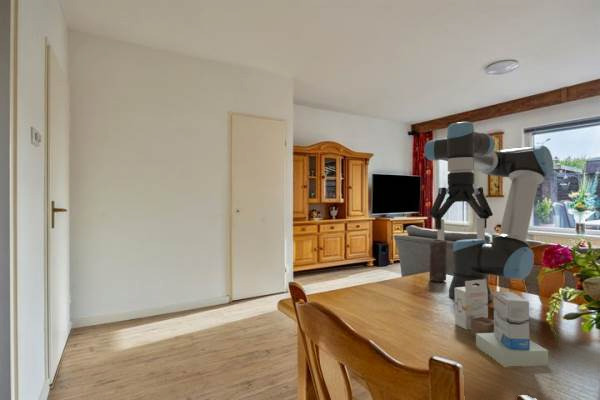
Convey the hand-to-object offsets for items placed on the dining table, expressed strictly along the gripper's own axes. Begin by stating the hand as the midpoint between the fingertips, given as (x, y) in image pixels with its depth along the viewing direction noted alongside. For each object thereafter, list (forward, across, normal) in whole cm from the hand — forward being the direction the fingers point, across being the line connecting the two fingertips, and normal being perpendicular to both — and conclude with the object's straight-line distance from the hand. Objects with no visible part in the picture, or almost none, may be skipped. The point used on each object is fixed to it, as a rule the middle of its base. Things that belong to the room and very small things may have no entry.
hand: (460, 239), depth 105 cm
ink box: (+23, +1, +22) cm, 32 cm away
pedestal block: (+27, +1, +21) cm, 34 cm away
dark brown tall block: (+27, -21, -50) cm, 61 cm away
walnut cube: (+27, 0, +11) cm, 29 cm away
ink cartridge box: (+27, -2, +2) cm, 27 cm away
